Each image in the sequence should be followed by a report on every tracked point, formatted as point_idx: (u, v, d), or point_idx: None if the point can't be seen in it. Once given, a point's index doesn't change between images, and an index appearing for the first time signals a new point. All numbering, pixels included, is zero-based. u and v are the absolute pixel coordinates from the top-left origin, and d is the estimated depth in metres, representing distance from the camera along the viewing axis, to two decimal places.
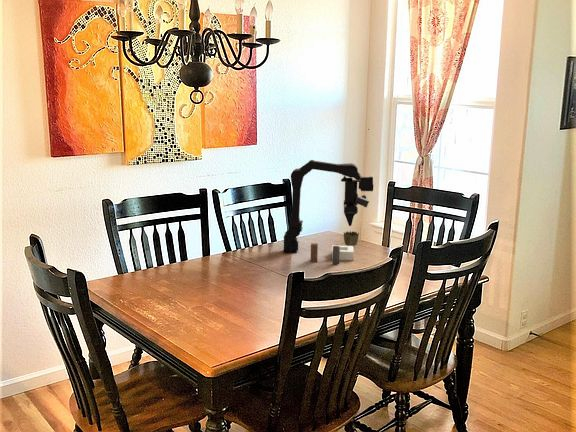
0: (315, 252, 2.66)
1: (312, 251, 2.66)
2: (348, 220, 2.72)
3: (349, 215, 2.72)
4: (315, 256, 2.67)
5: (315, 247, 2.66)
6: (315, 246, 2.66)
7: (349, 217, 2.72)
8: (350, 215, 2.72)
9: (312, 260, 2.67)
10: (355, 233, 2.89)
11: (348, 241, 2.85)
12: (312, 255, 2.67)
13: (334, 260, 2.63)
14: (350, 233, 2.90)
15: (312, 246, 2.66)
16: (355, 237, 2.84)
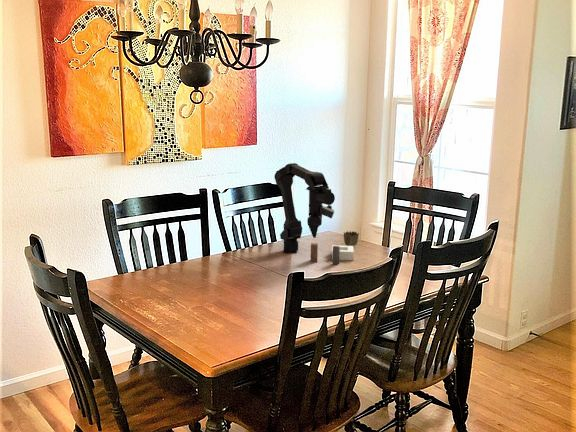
0: (315, 252, 2.66)
1: (312, 251, 2.66)
2: (312, 232, 2.60)
3: (313, 226, 2.59)
4: (315, 256, 2.67)
5: (315, 247, 2.66)
6: (315, 246, 2.66)
7: (313, 229, 2.60)
8: (314, 226, 2.59)
9: (312, 260, 2.67)
10: (355, 233, 2.89)
11: (348, 241, 2.85)
12: (312, 255, 2.67)
13: (334, 260, 2.63)
14: (350, 233, 2.90)
15: (312, 246, 2.66)
16: (355, 237, 2.84)
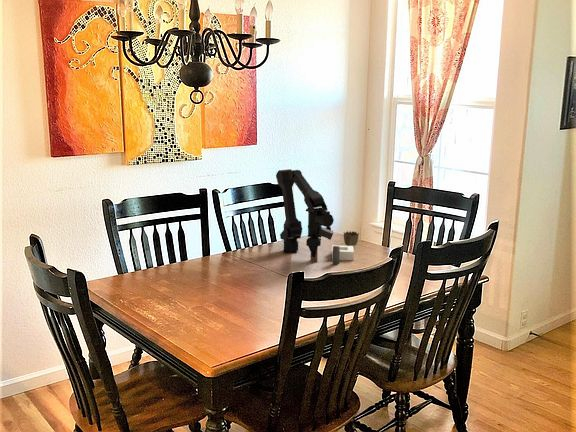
0: None
1: None
2: (312, 251, 2.65)
3: (312, 246, 2.64)
4: (315, 256, 2.67)
5: None
6: None
7: (312, 248, 2.65)
8: (313, 246, 2.64)
9: (312, 260, 2.67)
10: (355, 233, 2.89)
11: (348, 241, 2.85)
12: None
13: (334, 260, 2.63)
14: (350, 233, 2.90)
15: None
16: (355, 237, 2.84)
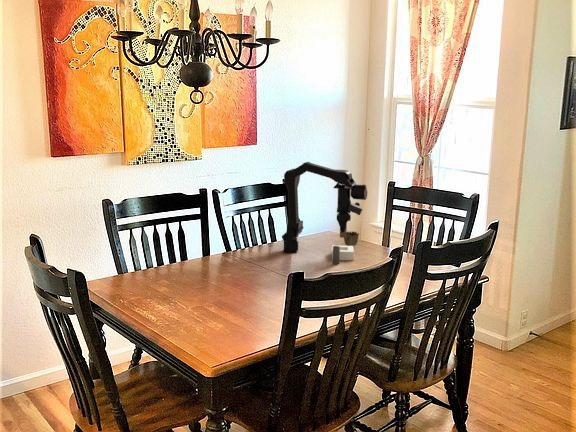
0: None
1: None
2: (341, 226, 2.70)
3: (342, 221, 2.69)
4: None
5: None
6: None
7: (342, 223, 2.69)
8: (343, 221, 2.69)
9: (341, 235, 2.72)
10: (355, 233, 2.89)
11: (348, 241, 2.85)
12: None
13: (334, 260, 2.63)
14: (350, 233, 2.90)
15: None
16: (355, 237, 2.84)
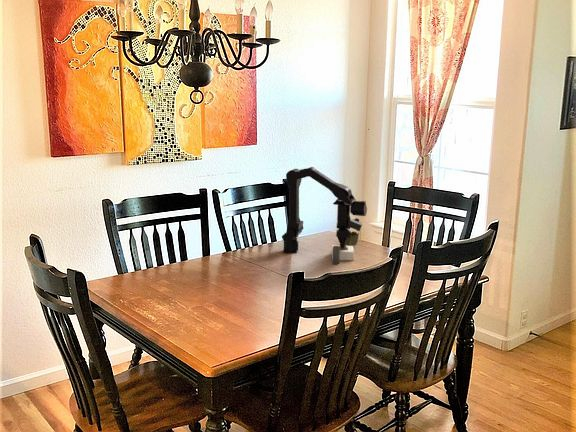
0: None
1: None
2: (341, 242, 2.71)
3: (342, 237, 2.70)
4: (344, 247, 2.73)
5: None
6: None
7: (342, 239, 2.71)
8: (343, 237, 2.70)
9: None
10: (355, 233, 2.89)
11: (348, 241, 2.85)
12: None
13: (334, 260, 2.63)
14: (350, 233, 2.90)
15: None
16: (355, 237, 2.84)
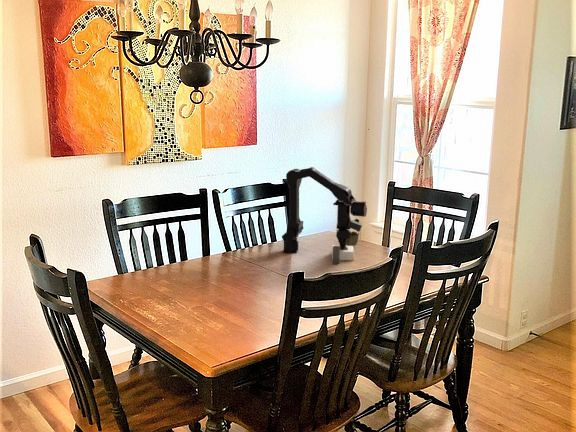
0: (344, 248, 2.73)
1: None
2: (341, 244, 2.70)
3: (342, 239, 2.69)
4: None
5: None
6: None
7: (342, 241, 2.69)
8: (343, 239, 2.69)
9: None
10: (355, 233, 2.89)
11: (348, 241, 2.85)
12: None
13: (334, 260, 2.63)
14: (350, 233, 2.90)
15: None
16: (355, 237, 2.84)
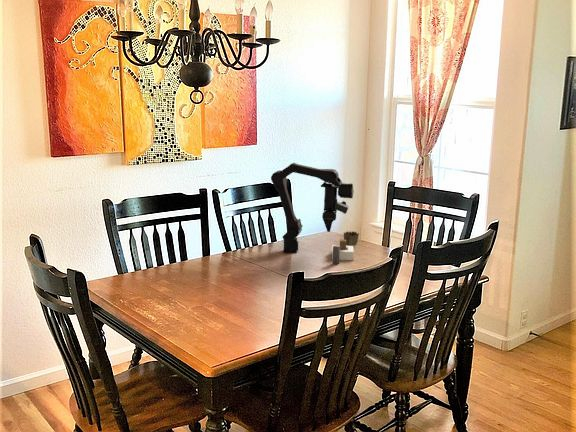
0: (344, 248, 2.73)
1: (341, 247, 2.73)
2: (327, 226, 2.71)
3: (328, 221, 2.71)
4: None
5: (344, 243, 2.72)
6: (344, 242, 2.72)
7: (328, 223, 2.71)
8: (329, 221, 2.71)
9: None
10: (355, 233, 2.89)
11: (348, 241, 2.85)
12: None
13: (334, 260, 2.63)
14: (350, 233, 2.90)
15: (341, 242, 2.72)
16: (355, 237, 2.84)
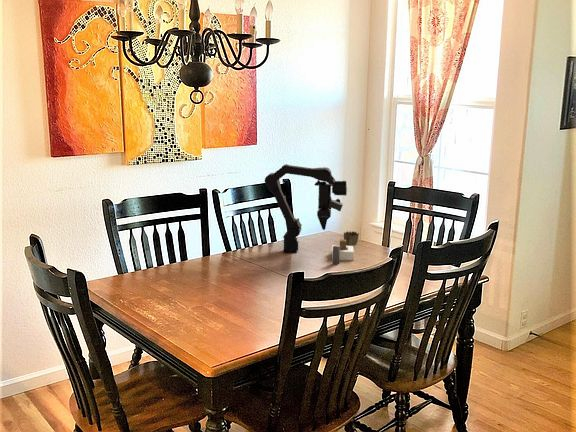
0: (344, 248, 2.73)
1: (341, 247, 2.73)
2: (322, 224, 2.73)
3: (322, 219, 2.72)
4: None
5: (344, 243, 2.72)
6: (344, 242, 2.72)
7: (323, 221, 2.73)
8: (323, 219, 2.72)
9: None
10: (355, 233, 2.89)
11: (348, 241, 2.85)
12: None
13: (334, 260, 2.63)
14: (350, 233, 2.91)
15: (341, 242, 2.72)
16: (355, 237, 2.84)
